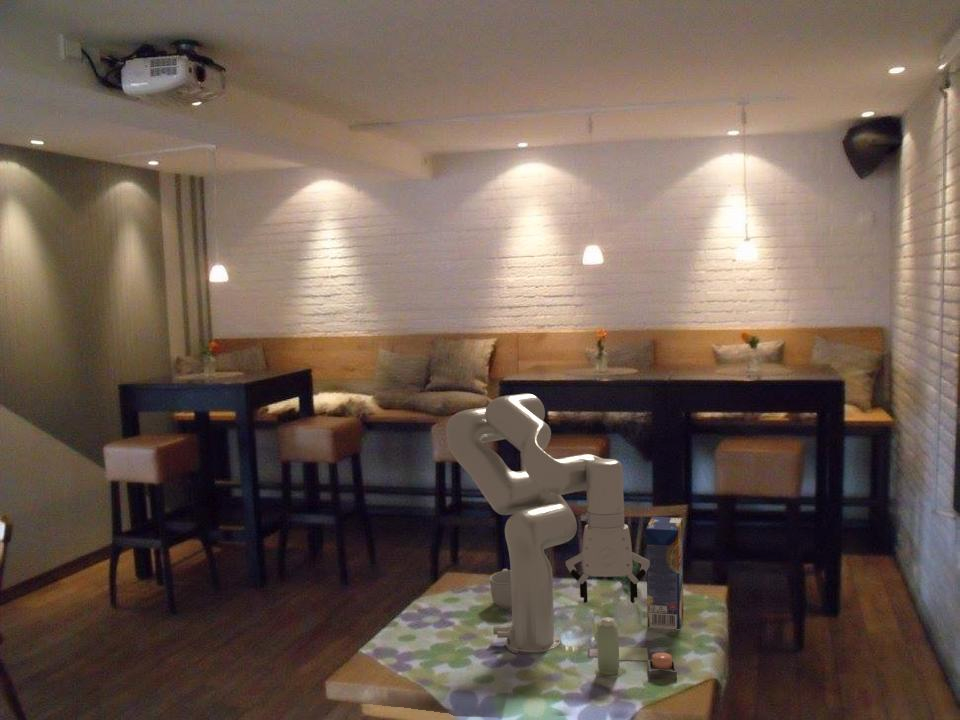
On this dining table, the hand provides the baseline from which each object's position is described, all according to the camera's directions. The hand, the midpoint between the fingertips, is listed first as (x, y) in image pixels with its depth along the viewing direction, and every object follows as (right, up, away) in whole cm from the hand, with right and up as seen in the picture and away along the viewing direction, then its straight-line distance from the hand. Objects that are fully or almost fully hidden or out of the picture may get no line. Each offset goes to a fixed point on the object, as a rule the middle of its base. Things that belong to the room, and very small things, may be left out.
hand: (608, 600), depth 189 cm
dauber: (0, -15, +2) cm, 15 cm away
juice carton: (+19, -14, +33) cm, 41 cm away
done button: (+11, -13, 0) cm, 17 cm away
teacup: (-19, -14, +49) cm, 54 cm away
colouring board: (+5, -16, +6) cm, 18 cm away
